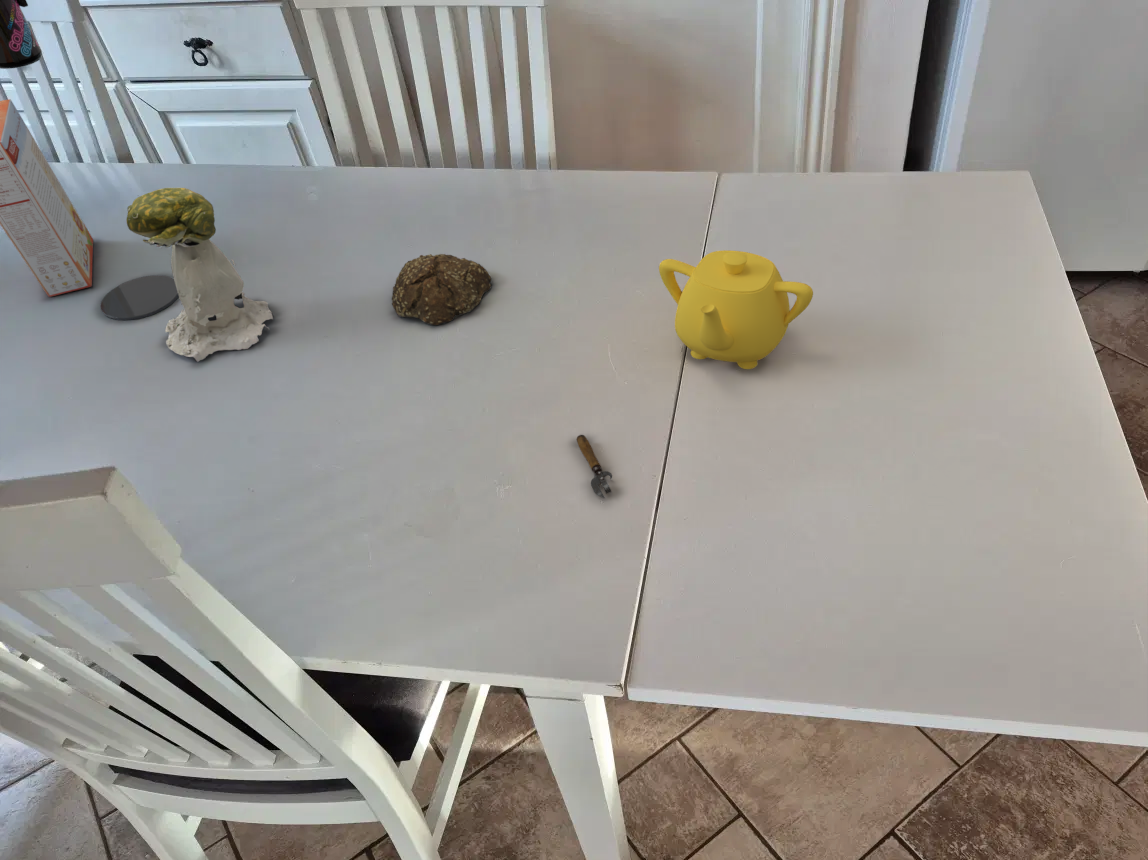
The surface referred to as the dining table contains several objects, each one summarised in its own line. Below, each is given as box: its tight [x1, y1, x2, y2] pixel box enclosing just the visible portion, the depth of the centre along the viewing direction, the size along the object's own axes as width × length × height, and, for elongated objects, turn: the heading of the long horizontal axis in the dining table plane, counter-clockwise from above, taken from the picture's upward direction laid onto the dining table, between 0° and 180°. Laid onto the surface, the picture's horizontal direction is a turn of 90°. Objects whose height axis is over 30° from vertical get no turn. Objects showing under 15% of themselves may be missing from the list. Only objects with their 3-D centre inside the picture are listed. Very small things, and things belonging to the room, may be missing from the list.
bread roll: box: [391, 253, 492, 326], centre depth 108 cm, size 13×12×5 cm
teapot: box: [658, 249, 814, 370], centre depth 96 cm, size 14×14×12 cm
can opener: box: [576, 434, 613, 499], centre depth 86 cm, size 9×2×1 cm, turn 16°
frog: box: [126, 187, 274, 363], centre depth 100 cm, size 12×13×18 cm
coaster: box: [100, 274, 179, 321], centre depth 113 cm, size 10×10×1 cm
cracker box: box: [0, 98, 94, 298], centre depth 111 cm, size 14×6×21 cm, turn 23°
